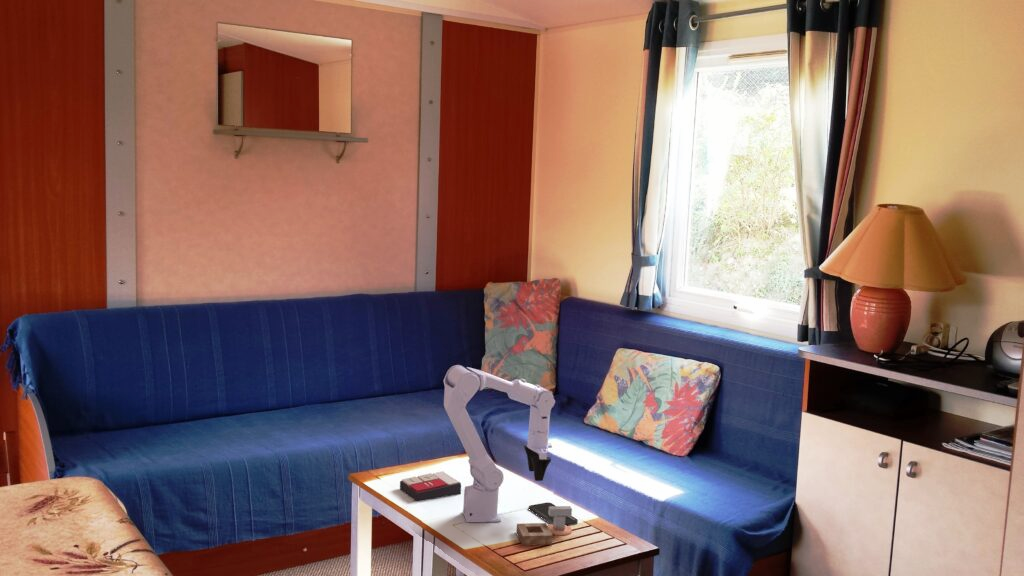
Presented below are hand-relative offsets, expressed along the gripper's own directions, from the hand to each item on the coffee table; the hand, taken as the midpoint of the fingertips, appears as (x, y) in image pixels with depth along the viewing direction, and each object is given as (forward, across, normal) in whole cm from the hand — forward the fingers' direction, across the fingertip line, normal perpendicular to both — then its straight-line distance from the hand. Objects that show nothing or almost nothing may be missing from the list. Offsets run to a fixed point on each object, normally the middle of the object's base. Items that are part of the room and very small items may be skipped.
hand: (535, 475), depth 254 cm
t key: (+10, -14, -4) cm, 18 cm away
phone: (+11, -4, -5) cm, 13 cm away
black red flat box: (+11, +16, +28) cm, 34 cm away
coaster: (+10, -14, -4) cm, 18 cm away
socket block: (+10, -19, +4) cm, 22 cm away
